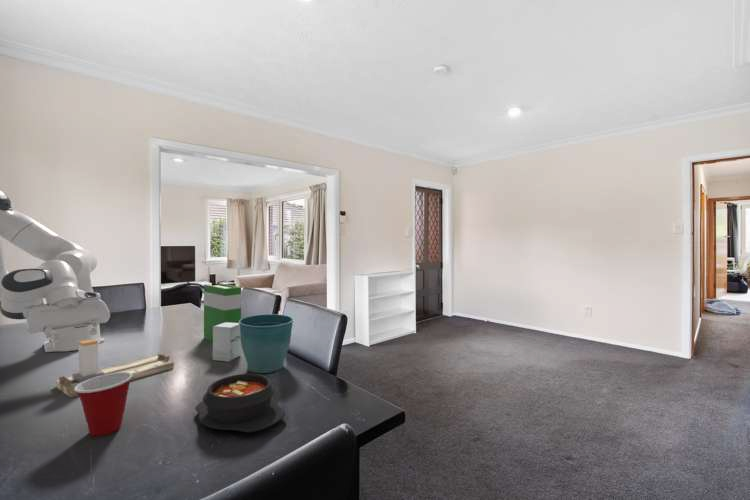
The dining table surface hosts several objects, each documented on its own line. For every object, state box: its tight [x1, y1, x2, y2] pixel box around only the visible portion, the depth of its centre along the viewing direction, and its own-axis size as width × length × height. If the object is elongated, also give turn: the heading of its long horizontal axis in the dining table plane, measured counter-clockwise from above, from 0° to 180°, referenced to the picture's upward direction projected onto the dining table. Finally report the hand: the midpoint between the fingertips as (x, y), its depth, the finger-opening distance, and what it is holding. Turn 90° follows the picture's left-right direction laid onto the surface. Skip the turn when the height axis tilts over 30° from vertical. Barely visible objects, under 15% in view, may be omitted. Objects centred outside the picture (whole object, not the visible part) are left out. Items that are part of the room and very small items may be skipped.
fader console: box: [55, 352, 175, 398], centre depth 113 cm, size 12×28×4 cm, turn 146°
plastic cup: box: [74, 372, 132, 438], centre depth 82 cm, size 11×11×12 cm
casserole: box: [195, 373, 286, 433], centre depth 89 cm, size 25×19×8 cm
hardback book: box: [203, 282, 242, 342], centre depth 154 cm, size 18×7×24 cm, turn 52°
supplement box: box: [212, 322, 242, 362], centre depth 132 cm, size 7×7×13 cm
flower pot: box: [239, 313, 294, 374], centre depth 123 cm, size 18×18×17 cm
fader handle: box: [71, 339, 104, 383], centre depth 106 cm, size 6×6×11 cm
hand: (75, 337), depth 109 cm, fingers open, 8 cm apart
